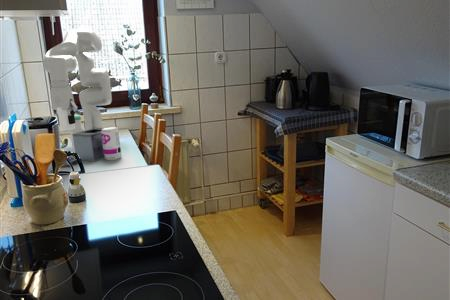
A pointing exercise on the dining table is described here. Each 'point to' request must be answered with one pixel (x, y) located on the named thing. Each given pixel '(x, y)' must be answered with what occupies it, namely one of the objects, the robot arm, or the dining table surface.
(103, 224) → the dining table surface
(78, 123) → the milk bottle
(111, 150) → the supplement can
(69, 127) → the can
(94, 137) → the box
